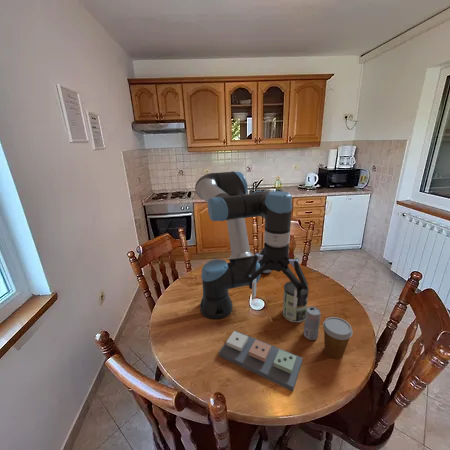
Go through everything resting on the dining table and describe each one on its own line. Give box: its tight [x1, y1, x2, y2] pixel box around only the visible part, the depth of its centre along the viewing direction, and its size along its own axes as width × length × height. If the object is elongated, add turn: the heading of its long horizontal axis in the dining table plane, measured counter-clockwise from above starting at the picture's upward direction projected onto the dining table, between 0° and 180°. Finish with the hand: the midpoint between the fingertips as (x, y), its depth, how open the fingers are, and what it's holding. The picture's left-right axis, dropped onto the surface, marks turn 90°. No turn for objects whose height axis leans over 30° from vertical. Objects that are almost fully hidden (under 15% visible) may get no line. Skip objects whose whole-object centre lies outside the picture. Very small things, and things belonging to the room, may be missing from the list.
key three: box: [273, 348, 298, 374], centre depth 80 cm, size 6×6×4 cm
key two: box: [249, 339, 271, 362], centre depth 84 cm, size 6×6×4 cm
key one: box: [225, 330, 249, 351], centre depth 88 cm, size 6×6×4 cm
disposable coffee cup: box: [322, 316, 354, 360], centre depth 85 cm, size 10×10×12 cm
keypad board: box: [218, 330, 303, 392], centre depth 85 cm, size 27×12×2 cm, turn 60°
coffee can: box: [282, 281, 310, 323], centre depth 104 cm, size 10×10×14 cm
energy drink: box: [303, 305, 322, 341], centre depth 93 cm, size 5×5×12 cm
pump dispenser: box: [259, 247, 273, 274], centre depth 140 cm, size 10×10×15 cm
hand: (273, 300), depth 80 cm, fingers open, 13 cm apart
